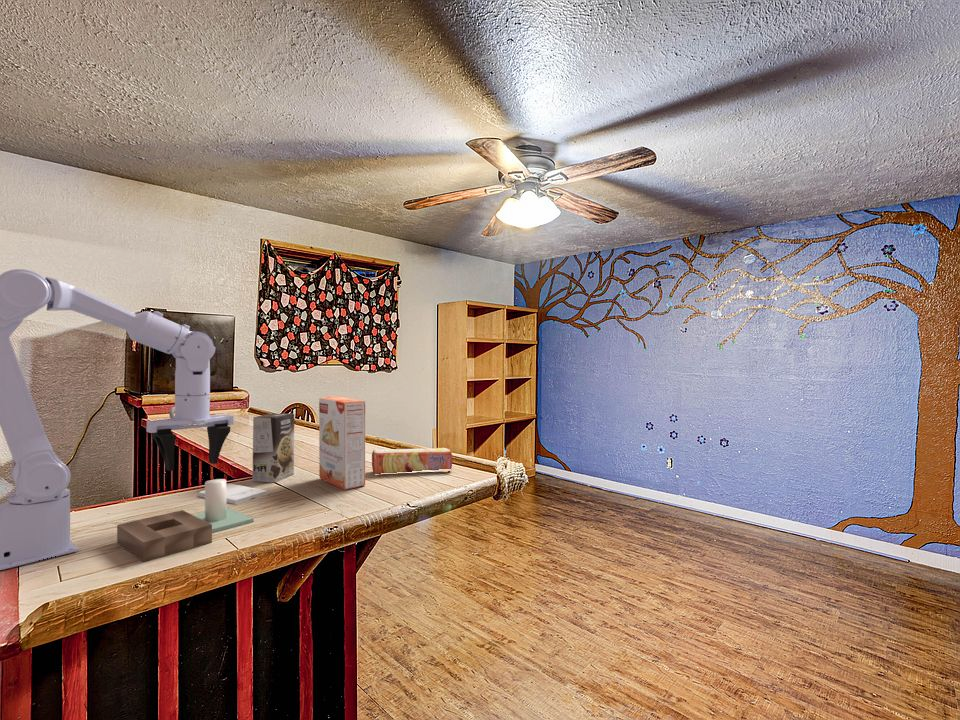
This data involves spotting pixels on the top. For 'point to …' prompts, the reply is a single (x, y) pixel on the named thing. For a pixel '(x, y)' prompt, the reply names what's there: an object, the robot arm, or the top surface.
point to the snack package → (410, 460)
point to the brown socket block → (163, 535)
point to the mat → (227, 520)
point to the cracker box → (342, 441)
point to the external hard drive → (240, 493)
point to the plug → (215, 500)
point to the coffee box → (273, 447)
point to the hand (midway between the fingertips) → (192, 466)
